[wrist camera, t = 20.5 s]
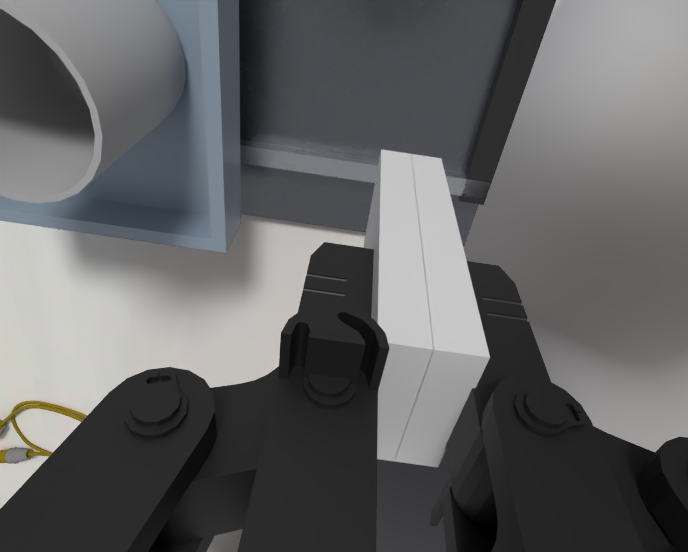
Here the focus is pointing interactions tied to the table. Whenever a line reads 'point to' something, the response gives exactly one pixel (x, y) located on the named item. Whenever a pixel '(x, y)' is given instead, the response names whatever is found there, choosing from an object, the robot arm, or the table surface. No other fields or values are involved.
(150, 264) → the table surface
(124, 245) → the table surface
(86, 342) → the table surface
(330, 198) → the track
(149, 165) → the cart
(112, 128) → the cup
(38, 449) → the extension cord
